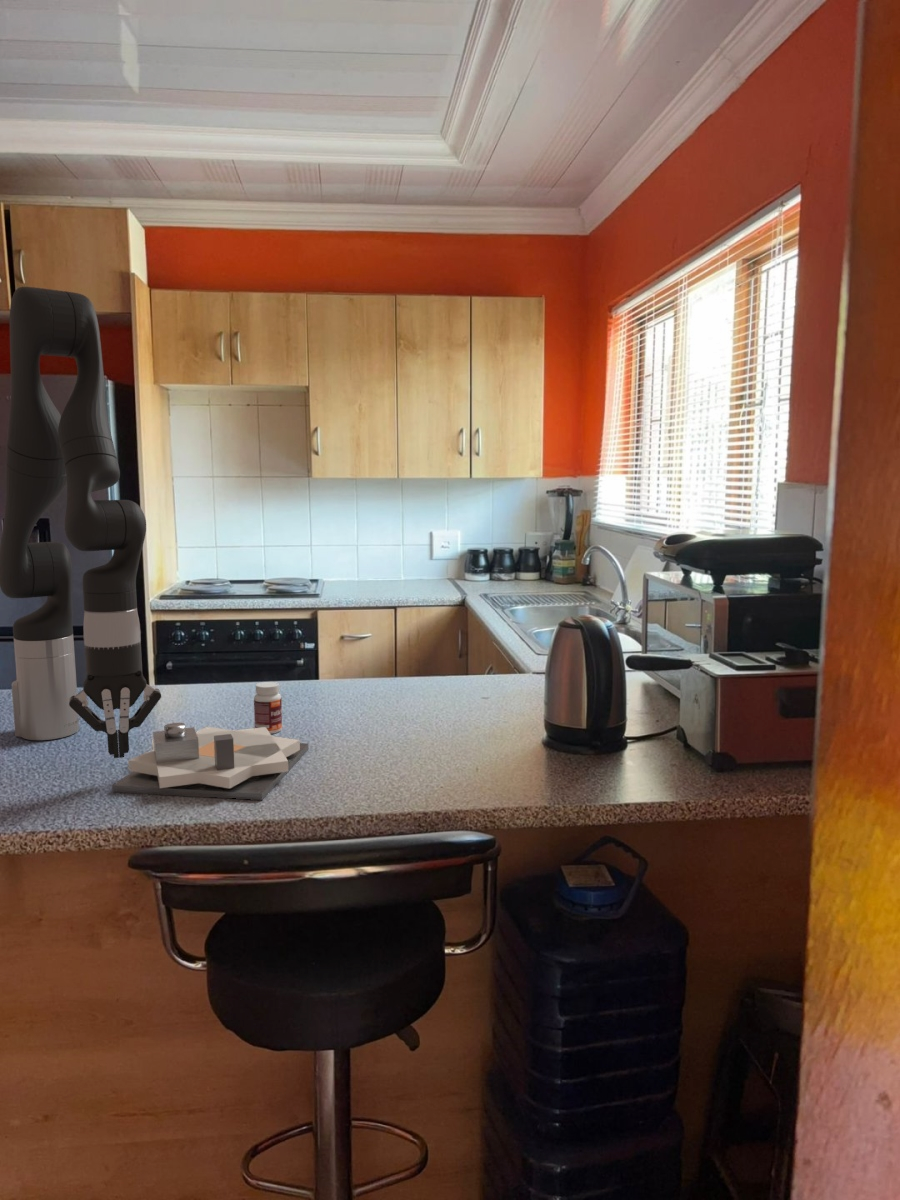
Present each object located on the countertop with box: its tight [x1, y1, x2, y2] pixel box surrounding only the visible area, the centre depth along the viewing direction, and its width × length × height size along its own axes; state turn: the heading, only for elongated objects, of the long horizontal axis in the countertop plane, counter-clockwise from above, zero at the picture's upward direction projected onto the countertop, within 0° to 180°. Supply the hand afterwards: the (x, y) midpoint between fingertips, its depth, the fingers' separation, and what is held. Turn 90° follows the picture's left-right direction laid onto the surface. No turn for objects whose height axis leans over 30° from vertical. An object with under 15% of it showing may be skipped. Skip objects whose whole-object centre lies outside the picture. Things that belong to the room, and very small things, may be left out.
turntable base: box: [112, 742, 309, 801], centre depth 128 cm, size 22×22×1 cm
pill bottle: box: [253, 681, 283, 735], centre depth 147 cm, size 5×5×8 cm
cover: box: [152, 722, 199, 764], centre depth 125 cm, size 6×6×4 cm
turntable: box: [128, 726, 301, 789], centre depth 127 cm, size 26×26×6 cm
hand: (119, 756), depth 122 cm, fingers closed
